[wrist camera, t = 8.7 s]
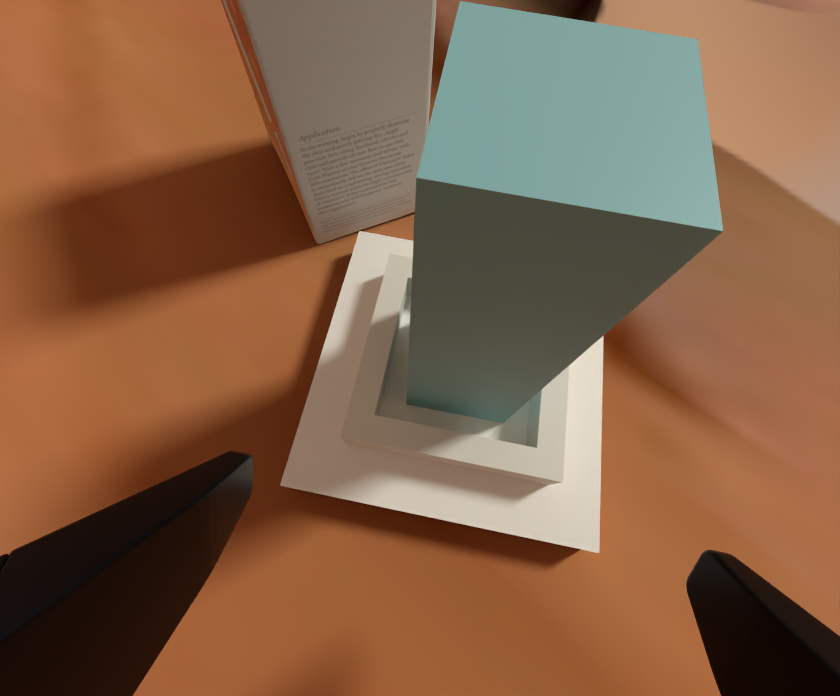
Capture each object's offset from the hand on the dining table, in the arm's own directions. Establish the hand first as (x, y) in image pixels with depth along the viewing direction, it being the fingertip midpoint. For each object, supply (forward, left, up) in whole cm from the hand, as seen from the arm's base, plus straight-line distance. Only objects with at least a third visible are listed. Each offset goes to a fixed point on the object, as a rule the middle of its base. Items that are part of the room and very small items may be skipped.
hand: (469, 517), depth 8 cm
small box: (+18, +5, -9) cm, 21 cm away
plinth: (+6, -1, -9) cm, 11 cm away
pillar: (+6, -1, -7) cm, 10 cm away
